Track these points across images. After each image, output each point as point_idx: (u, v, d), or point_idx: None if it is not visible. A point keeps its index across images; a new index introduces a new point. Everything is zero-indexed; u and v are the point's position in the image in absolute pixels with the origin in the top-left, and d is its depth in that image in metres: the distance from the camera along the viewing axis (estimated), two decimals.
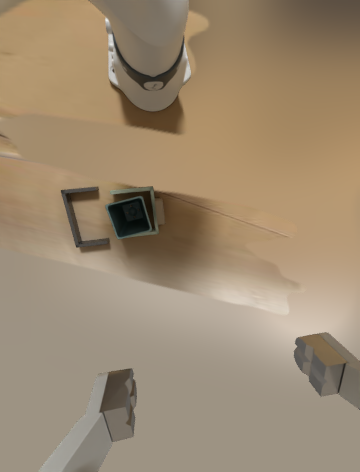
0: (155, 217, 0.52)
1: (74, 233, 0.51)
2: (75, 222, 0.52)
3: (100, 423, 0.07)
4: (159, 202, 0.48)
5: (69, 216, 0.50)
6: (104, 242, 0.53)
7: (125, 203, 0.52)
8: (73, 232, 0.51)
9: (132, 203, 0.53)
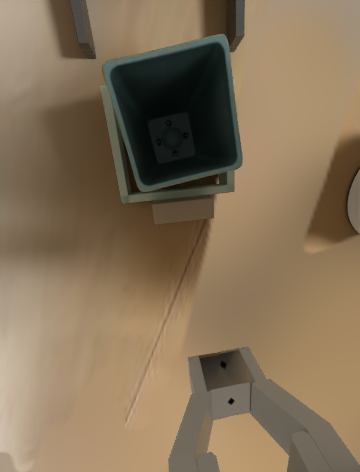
0: (164, 196, 0.21)
1: None
2: None
3: (209, 401, 0.07)
4: (209, 210, 0.19)
5: None
6: (81, 32, 0.17)
7: (194, 120, 0.21)
8: None
9: (191, 139, 0.22)
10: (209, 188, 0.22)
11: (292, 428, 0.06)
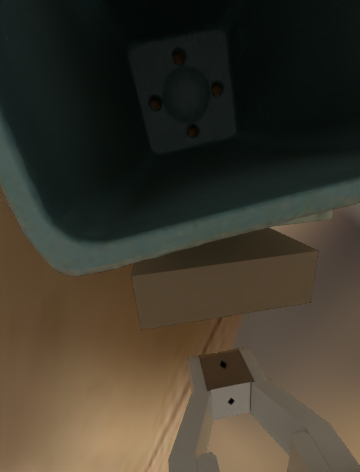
0: None
1: None
2: None
3: (209, 401, 0.07)
4: (303, 283, 0.07)
5: None
6: None
7: (243, 46, 0.09)
8: None
9: (230, 98, 0.10)
10: None
11: (292, 428, 0.06)
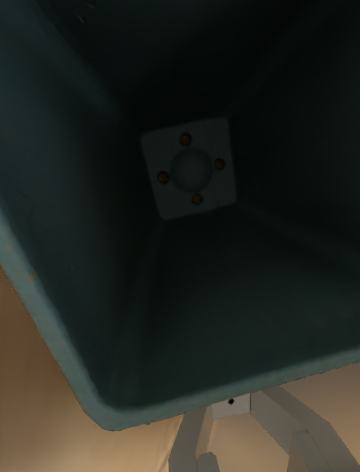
0: None
1: None
2: None
3: None
4: None
5: None
6: None
7: (243, 135, 0.10)
8: None
9: (231, 172, 0.11)
10: None
11: (292, 428, 0.06)
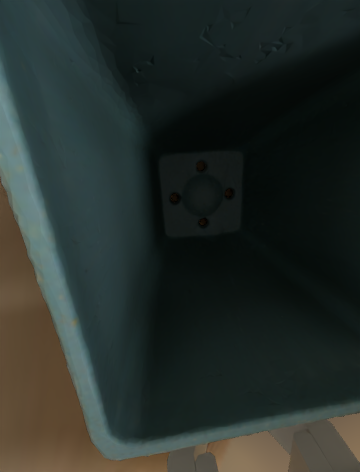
0: None
1: None
2: None
3: None
4: None
5: None
6: None
7: (256, 172, 0.10)
8: None
9: (239, 202, 0.11)
10: None
11: (293, 428, 0.06)
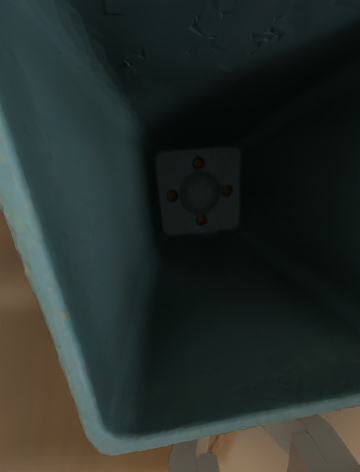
0: None
1: None
2: None
3: None
4: None
5: None
6: None
7: (253, 168, 0.10)
8: None
9: (237, 199, 0.11)
10: None
11: (292, 428, 0.06)
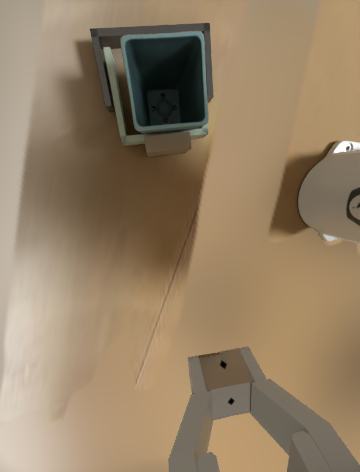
0: None
1: (123, 32, 0.24)
2: None
3: (209, 401, 0.07)
4: (187, 141, 0.26)
5: (159, 29, 0.25)
6: (107, 99, 0.26)
7: (182, 96, 0.28)
8: (125, 30, 0.24)
9: (178, 111, 0.30)
10: (188, 130, 0.28)
11: (292, 428, 0.06)
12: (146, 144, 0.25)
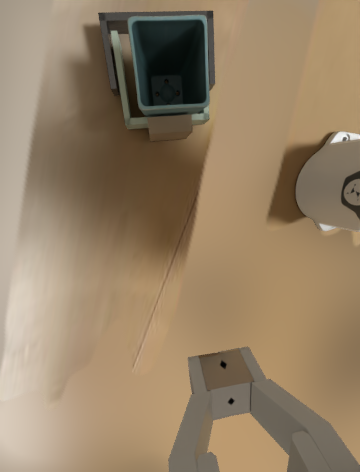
0: None
1: (129, 17, 0.25)
2: None
3: (209, 401, 0.07)
4: (189, 124, 0.27)
5: (164, 15, 0.26)
6: (113, 82, 0.27)
7: (185, 81, 0.29)
8: (132, 15, 0.25)
9: (181, 96, 0.31)
10: (190, 115, 0.29)
11: (292, 428, 0.06)
12: (149, 125, 0.26)
